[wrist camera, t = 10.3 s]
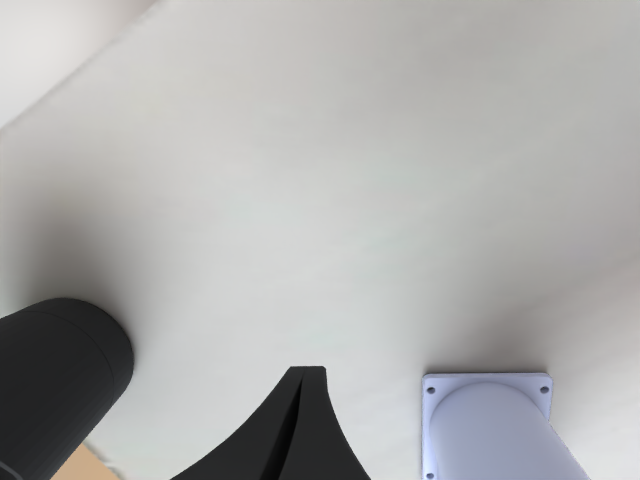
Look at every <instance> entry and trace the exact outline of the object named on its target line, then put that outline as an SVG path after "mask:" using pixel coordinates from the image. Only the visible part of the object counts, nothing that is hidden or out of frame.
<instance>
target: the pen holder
mask: <svg viewBox="0 0 640 480" xmlns="http://www.w3.org/2000/svg"><path fill="white" fill-rule="evenodd" d="M133 365H134V363H133V353H132V349H131V345H130V343H129V340H128V338H127V336H126V334H125V333H124V331H123V330H122V328H121V327H120V326H119V325H118V323H117V322H116V321H115V320H114V319H113V318H112V317H111V316H109V315H108V314H107V313H105V312H104V311H102V310H101V309H99V308H98V307H95V306H93V305H91V304H89V303H86V302H83V301H79V300H75V299H68V298H55V299H48V300H45V301H42V302H39V303H36V304H34V305H32V306H29V307H27V308H24V309H22V310H20V311H17V312H15V313H13V314H10V315H8V316H5V317H3V318H1V319H0V480H50V479H51V477H52V476H53V475H54V474H55V473H56V472H57V470H58V469H59V468H60V467H61V466H62V465H63V464H64V462H65V461H66V460H67V459H68V458H69V457H70V455H71V454H72V453H73V452H74V451H75V449H76V448H77V447H78V446H79V445H80V444H81V443H82V441H83V440H84V439H85V438H86V437H87V436H88V434H89V433H90V432H91V431H92V430H93V428H94V427H95V426H96V425H97V424H98V423H99V421H100V420H101V419H102V418H103V417H104V416H105V414H106V413H107V412H108V411H109V409H110V408H111V407H112V406H113V405H114V403H115V402H116V401H117V400H118V399H119V397H120V396H121V395H122V394H123V392H124V391H125V390H126V388H127V386H128V385H129V383H130V380H131V378H132V373H133Z"/></svg>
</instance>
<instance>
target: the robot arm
mask: <svg viewBox="0 0 640 480" xmlns="http://www.w3.org/2000/svg"><path fill="white" fill-rule="evenodd" d="M544 386H545V388H544V389H541V388H542V387H544ZM429 387H433V389H432V390H428V388H429ZM552 389H553V379H552V378H551V377H550V376H549V375H548V374H547V373H463V374H427V375H425V376H424V377H423V379H422V480H591V479H590V478H589V477H588V475H587V474H586V473H585V471H584V470H583V468H582V467H581V466H580V464H579V463H578V462H577V460H576V459H575V458H574V456H573V455H572V453H571V452H570V451H569V449H568V448H567V447H566V445H565V444H564V443H563V441H562V440H561V438H560V437H559V436H558V434H557V433H556V432H555V430H554V429H553V428H552V426H551V425H550V423H549V416H550V407H551V398H552ZM428 473H431V474H428ZM170 480H371V479H370V477H369V476H368V475H367V473H366V472H365V470H364V469H363V467H362V465H361V464H360V462H359V461H358V459H357V458H356V456H355V454H354V453H353V451H352V449H351V447H350V446H349V444H348V442H347V440H346V438H345V436H344V434H343V432H342V430H341V428H340V425H339V423H338V421H337V418H336V415H335V413H334V410H333V407H332V404H331V401H330V398H329V394H328V389H327V376H326V369H325V368H324V367H323V366H293V367H290V368H289V369H288V370H287V372H286V373H285V374H284V376H283V377H282V378H281V380H280V381H279V383H278V384H277V385H276V386H275V388H274V389H273V390H272V392H271V393H270V394H269V395H268V396H267V398H266V399H265V400H264V401H263V403H262V404H261V405H260V406H259V407H258V408H257V409H256V410H255V412H254V413H253V414H252V415H251V416H250V417H249V418H248V419H247V420H246V421H245V422H244V423H243V424H242V425H241V426H240V427H239V428H238V429H237V430H236V431H235V432H234V433H233V434H232V435H231V436H230V437H229V438H227V439H226V440H225V441H224V442H223V443H221V444H220V445H219V446H217V447H216V448H215V449H214V450H212V451H211V452H210V453H208V454H207V455H206V456H205V457H203V458H202V459H201V460H199V461H198V462H196V463H195V464H193V465H192V466H190V467H189V468H187V469H186V470H184V471H183V472H181V473H180V474H178V475H176V476H175V477H173V478H172V479H170Z"/></svg>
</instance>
